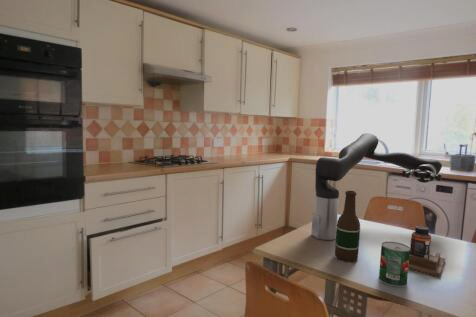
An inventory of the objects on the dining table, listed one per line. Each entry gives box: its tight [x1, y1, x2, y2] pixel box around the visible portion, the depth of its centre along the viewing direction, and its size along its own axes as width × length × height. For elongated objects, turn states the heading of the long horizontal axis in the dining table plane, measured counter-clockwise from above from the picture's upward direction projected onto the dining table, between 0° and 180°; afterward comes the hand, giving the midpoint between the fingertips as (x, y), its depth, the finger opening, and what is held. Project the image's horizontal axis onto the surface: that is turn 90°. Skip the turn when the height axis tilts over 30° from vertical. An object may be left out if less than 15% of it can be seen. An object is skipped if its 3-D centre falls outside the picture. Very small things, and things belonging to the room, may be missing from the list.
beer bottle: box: [334, 190, 361, 263], centre depth 116 cm, size 8×8×24 cm
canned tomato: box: [378, 241, 410, 288], centre depth 100 cm, size 8×8×11 cm
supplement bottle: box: [409, 225, 432, 259], centre depth 114 cm, size 6×6×11 cm
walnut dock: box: [408, 251, 446, 279], centre depth 114 cm, size 16×14×4 cm
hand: (418, 176), depth 133 cm, fingers open, 8 cm apart
